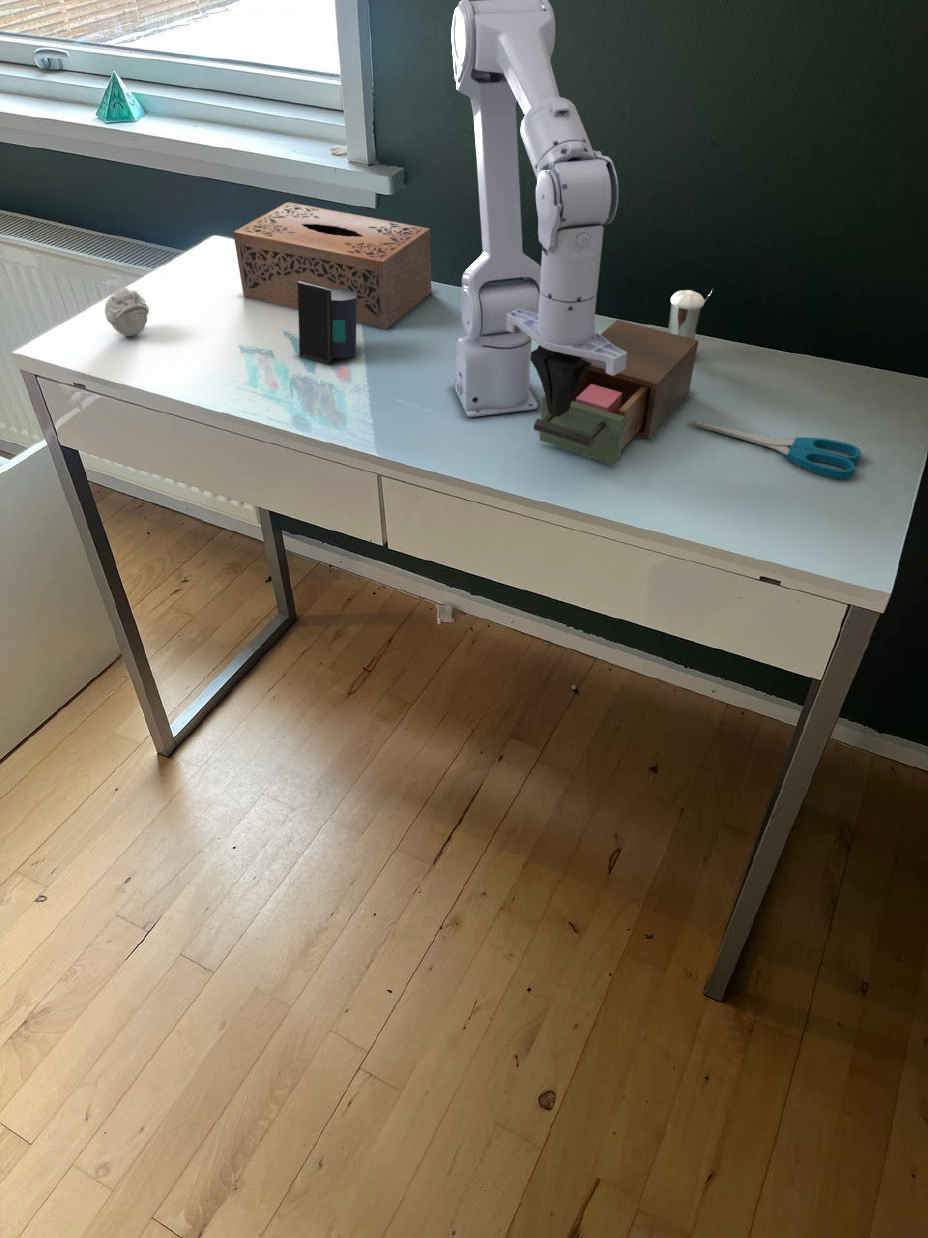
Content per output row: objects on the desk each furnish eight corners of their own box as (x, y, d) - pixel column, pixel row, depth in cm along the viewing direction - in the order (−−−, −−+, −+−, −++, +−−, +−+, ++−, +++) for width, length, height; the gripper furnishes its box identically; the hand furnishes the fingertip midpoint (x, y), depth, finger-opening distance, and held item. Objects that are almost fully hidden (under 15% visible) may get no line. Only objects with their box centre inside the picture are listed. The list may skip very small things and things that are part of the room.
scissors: (851, 474, 107) (685, 432, 114) (849, 481, 107) (684, 438, 115) (863, 447, 111) (703, 407, 118) (861, 454, 112) (701, 414, 119)
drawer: (597, 485, 106) (602, 440, 102) (519, 459, 110) (521, 415, 106) (656, 418, 116) (663, 376, 112) (584, 397, 120) (588, 355, 116)
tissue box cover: (431, 292, 146) (429, 228, 139) (386, 329, 136) (382, 262, 130) (295, 263, 154) (287, 201, 147) (243, 296, 145) (233, 231, 138)
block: (603, 438, 111) (607, 407, 108) (572, 428, 113) (575, 398, 110) (618, 423, 114) (622, 392, 111) (587, 413, 115) (591, 383, 112)
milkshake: (699, 364, 129) (713, 295, 122) (661, 361, 129) (672, 291, 123) (700, 350, 132) (713, 281, 125) (662, 346, 133) (673, 278, 126)
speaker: (321, 369, 127) (317, 293, 120) (299, 356, 130) (294, 282, 124) (366, 358, 131) (365, 284, 125) (343, 345, 134) (341, 272, 128)
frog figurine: (123, 349, 132) (110, 302, 127) (103, 332, 136) (90, 285, 131) (162, 337, 134) (151, 290, 130) (142, 320, 138) (130, 274, 134)
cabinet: (648, 439, 114) (657, 383, 109) (566, 414, 119) (571, 359, 114) (688, 393, 123) (698, 340, 118) (610, 371, 127) (617, 319, 122)
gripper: (651, 299, 90) (634, 421, 99) (539, 259, 98) (532, 376, 107) (607, 322, 86) (593, 447, 96) (494, 278, 94) (491, 397, 103)
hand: (558, 411), depth 101 cm, fingers closed
